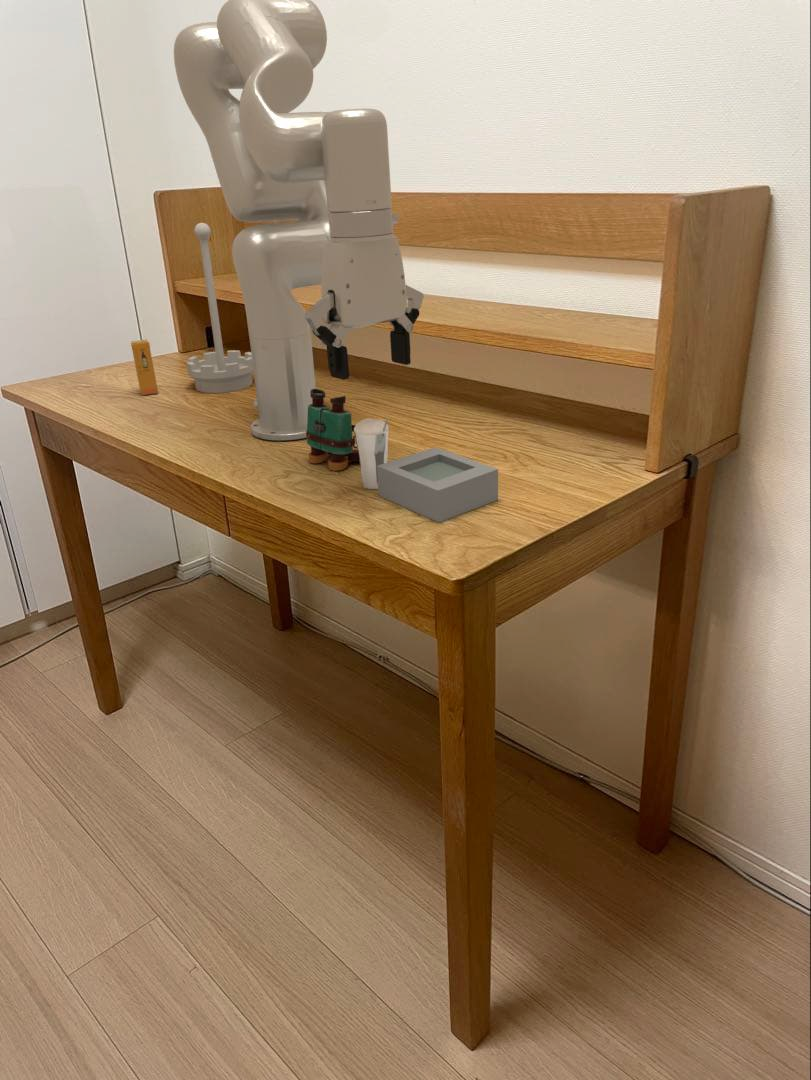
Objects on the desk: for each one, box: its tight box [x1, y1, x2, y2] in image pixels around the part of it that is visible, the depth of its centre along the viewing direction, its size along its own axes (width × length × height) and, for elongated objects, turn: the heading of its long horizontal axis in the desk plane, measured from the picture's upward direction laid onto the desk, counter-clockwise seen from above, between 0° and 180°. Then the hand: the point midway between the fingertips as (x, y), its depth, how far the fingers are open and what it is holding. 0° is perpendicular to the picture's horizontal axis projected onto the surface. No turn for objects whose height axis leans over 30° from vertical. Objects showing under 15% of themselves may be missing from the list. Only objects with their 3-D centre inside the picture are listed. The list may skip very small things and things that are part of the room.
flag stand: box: [186, 222, 254, 394], centre depth 159 cm, size 13×13×30 cm
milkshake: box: [353, 417, 390, 490], centre depth 112 cm, size 4×5×10 cm
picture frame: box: [377, 446, 499, 524], centre depth 108 cm, size 12×10×4 cm
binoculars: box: [306, 388, 359, 472], centre depth 122 cm, size 9×11×10 cm
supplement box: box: [130, 339, 159, 397], centre depth 160 cm, size 3×3×10 cm
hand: (371, 370), depth 107 cm, fingers open, 9 cm apart
